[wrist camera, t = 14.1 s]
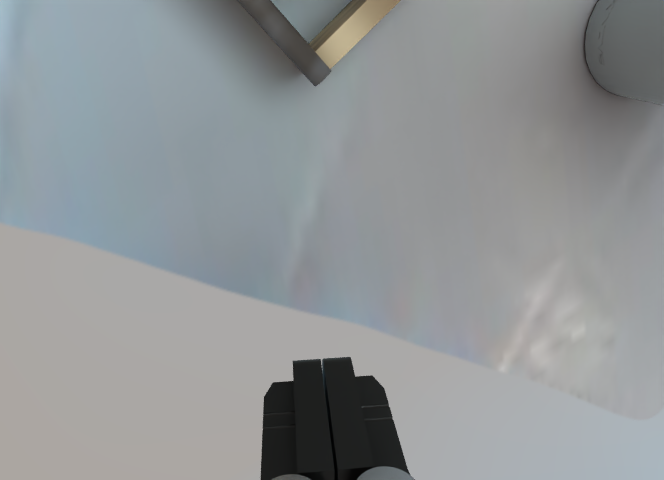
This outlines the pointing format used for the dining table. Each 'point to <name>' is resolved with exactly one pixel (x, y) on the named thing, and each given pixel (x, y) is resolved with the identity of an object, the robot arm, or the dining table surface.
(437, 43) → the dining table surface
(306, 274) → the dining table surface
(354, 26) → the oak caddy
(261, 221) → the dining table surface
